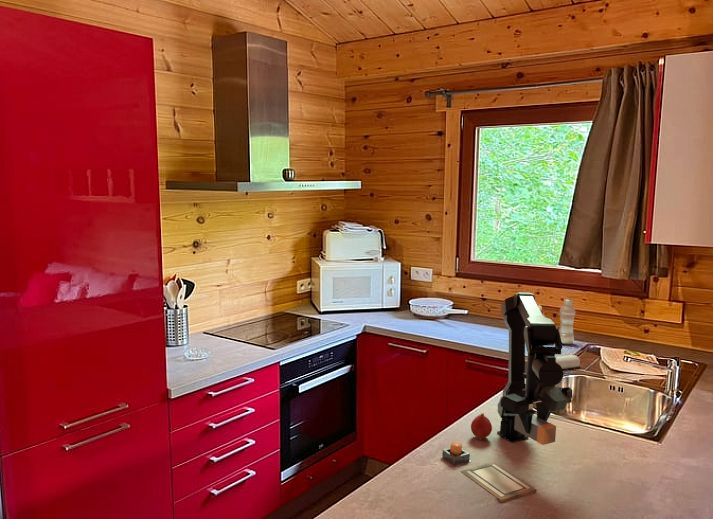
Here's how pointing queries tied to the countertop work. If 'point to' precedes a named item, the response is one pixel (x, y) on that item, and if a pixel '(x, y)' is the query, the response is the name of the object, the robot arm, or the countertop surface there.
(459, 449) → the button
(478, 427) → the onion
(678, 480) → the countertop surface
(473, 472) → the picture frame
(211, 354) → the countertop surface
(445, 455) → the button collar
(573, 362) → the tube
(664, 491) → the countertop surface
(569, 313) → the plastic bottle
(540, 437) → the grey orange block
